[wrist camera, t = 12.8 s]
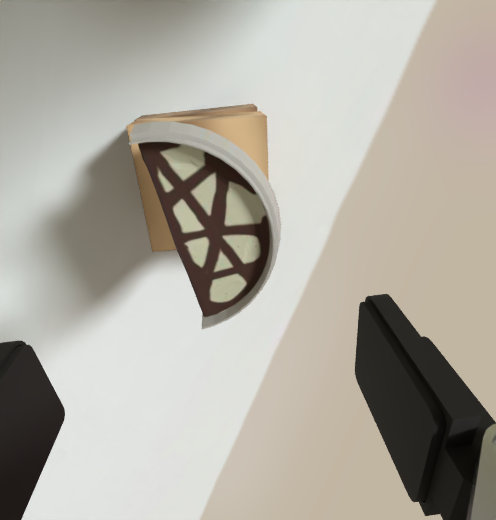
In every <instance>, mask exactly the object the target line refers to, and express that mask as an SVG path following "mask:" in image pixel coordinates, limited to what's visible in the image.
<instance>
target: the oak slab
mask: <svg viewBox="0 0 496 520" xmlns="http://www.w3.org/2000/svg"><path fill="white" fill-rule="evenodd" d="M166 121H172V122H179V123H186V124H192V125H195V126H198V127H201V128H204V129H207V130H210V131H212V132H214V133H216V134H218V135H220V136H222V137H224V138H226V139H228V140H229V141H231V142H232V143H234V144H235V145H236V146H238V147H239V148H241V149H242V150H243V151H244V152H245V153H246V154H247V155H248V156H249V157H250V158H251V159H252V160H253V161H254V162H255V163H256V164H257V165H258V167H259V168H260V169H261V171H262V172H263V173H264V175H265V176H266V178H267V180H268V147H267V116H266V115H264V114H263V113H262V112H261V111H256V112H241V113H227V114H212V115H197V116H182V117H168V118H153V119H138V120H136V121H134V122H133V123H131V124H129V125H127V130H128V135H129V140H130V141H131V140H132V139H131V137H130V133H131V131H132V129H133V127H134V125H136V124H142V123H147V122H166ZM131 150H132V154H133V159H134V164H135V169H136V174H137V179H138V184H139V188H140V193H141V198H142V203H143V208H144V213H145V218H146V222H147V227H148V232H149V237H150V242H151V247H152V252H155V251H166V250H177V249H176V246H175V244H174V241H173V238H172V235H171V232H170V229H169V226H168V223H167V220H166V217H165V214H164V212H163V209H162V206H161V203H160V201H159V198H158V195H157V192H156V190H155V187H154V184H153V182H152V179H151V176H150V174H149V171H148V169H147V166H146V164H145V163H144V161H143V159H142V155H141V152H140V149H139V146H138V143H137V144H131Z"/></svg>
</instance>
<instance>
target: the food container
mask: <svg viewBox="0 0 496 520" xmlns="http://www.w3.org/2000/svg"><path fill="white" fill-rule="evenodd" d="M130 137H131V139H132V140H131V141H130V142H129V145H131V144H137V143H138V146H139V149H140V152H141V155H142V159H143V161H144V163H145V164H146V166H147V169H148V171H149V174H150V176H151V179H152V182H153V184H154V187H155V190H156V192H157V195H158V198H159V201H160V203H161V206H162V209H163V212H164V214H165V217H166V220H167V223H168V226H169V229H170V232H171V235H172V238H173V241H174V244H175V246H176V249H177V251H178V253H179V256H180V258H181V260H182V262H183V265H184V267H185V269H186V272H187V274H188V277H189V279H190V281H191V284H192V287H193V289H194V292H195V294H196V297H197V300H198V302H199V305H200V307H201V310H202V312H203V315H202V329H205V328H208V327H212V326H215V325H217V324H220V323H222V322H224V321H226V320H228V319H230V318H232V317H233V316H235V315H236V314H238V313H240V312H241V311H242V310H243V309H244V308H245V307H247V306H248V305H249V304H250V303H251V302H252V301H253V300H254V298H255V297H256V296H257V295H258V294H259V292H260V291H261V290H262V288H263V287H264V285H265V284H266V282H267V280H268V279H269V277H270V275H271V272H272V270H273V267H274V265H275V261H276V257H277V252H278V247H279V243H280V233H281V221H280V213H279V207H278V204H277V200H276V197H275V194H274V191H273V189H272V187H271V185H270V183H269V182H268V180H267V178H266V176H265V175H264V173H263V172H262V171H261V169H260V168H259V167H258V165H257V164H256V163H255V162H254V161H253V160H252V159H251V158H250V157H249V156H248V155H247V154H246V153H245V152H244V151H243V150H242V149H241V148H239V147H238V146H236V145H235V144H234V143H232V142H231V141H229V140H228V139H226V138H224V137H222V136H220V135H218V134H216V133H214V132H212V131H210V130H207V129H204V128H201V127H198V126H195V125H192V124H186V123H179V122H172V121H166V122H147V123H142V124H136V125H134V127H133V129H132V131H131V133H130Z"/></svg>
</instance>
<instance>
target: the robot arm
mask: <svg viewBox="0 0 496 520" xmlns="http://www.w3.org/2000/svg"><path fill="white" fill-rule="evenodd" d="M355 375H356V379H357V382H358V384H359V386H360V389H361V391H362V393H363V395H364V398H365V400H366V402H367V404H368V407H369V408H370V411H371V413H372V415H373V418H374V420H375V422H376V424H377V426H378V429H379V431H380V433H381V435H382V438H383V440H384V442H385V444H386V446H387V449H388V451H389V453H390V455H391V458H392V460H393V462H394V464H395V466H396V469H397V471H398V473H399V475H400V478H401V480H402V482H403V484H404V486H405V489H406V491H407V493H408V495H409V497H410V498H411V500H412V501H413V502H419V503H420V506H421V507H422V510H423V512H424V514H425V516H429V515H436V514H441V516H442V518H443V520H496V422H495V421H494V420H493V418H492V417H491V416H490V415H489V413H488V412H487V411H486V410H485V408H484V407H483V406H482V405H481V403H480V402H479V401H478V399H477V398H476V397H475V396H474V395H473V393H472V392H471V391H470V389H469V388H468V387H467V386H466V384H465V383H464V382H463V381H462V379H461V378H460V377H459V376H458V374H457V373H456V372H455V370H454V369H453V368H452V367H451V365H450V364H449V363H448V361H447V360H446V359H445V358H444V356H443V355H442V354H441V353H440V351H439V350H438V349H437V348H436V346H435V345H434V344H433V342H431V341H430V339H429V338H427V337H421V336H420V335H419V334H418V332H417V331H416V329H415V328H414V327H413V325H412V324H411V323H410V322H409V320H408V319H407V318H406V316H405V315H404V314H403V312H402V311H401V310H400V309H399V307H398V306H397V305H396V303H395V302H394V301H393V299H392V298H391V297H390V296H389V295H388V294H382V295H374V296H368V297H366V300H365V302H361V303H360V306H359V320H358V334H357V347H356V362H355ZM64 417H65V410H64V407H63V405H62V403H61V401H60V399H59V397H58V396H57V394H56V392H55V390H54V388H53V386H52V384H51V382H50V380H49V378H48V377H47V375H46V373H45V371H44V369H43V367H42V365H41V363H40V361H39V359H38V358H37V356H36V354H35V352H34V350H33V348H32V347H31V346H30V345H26V343H25V342H23V341H12V342H4V343H0V520H21V519H22V516H23V514H24V512H25V509H26V507H27V505H28V502H29V500H30V498H31V495H32V493H33V491H34V489H35V486H36V484H37V482H38V479H39V477H40V475H41V472H42V470H43V468H44V465H45V463H46V461H47V458H48V456H49V454H50V452H51V449H52V447H53V445H54V442H55V440H56V438H57V435H58V433H59V431H60V428H61V426H62V424H63V421H64Z"/></svg>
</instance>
